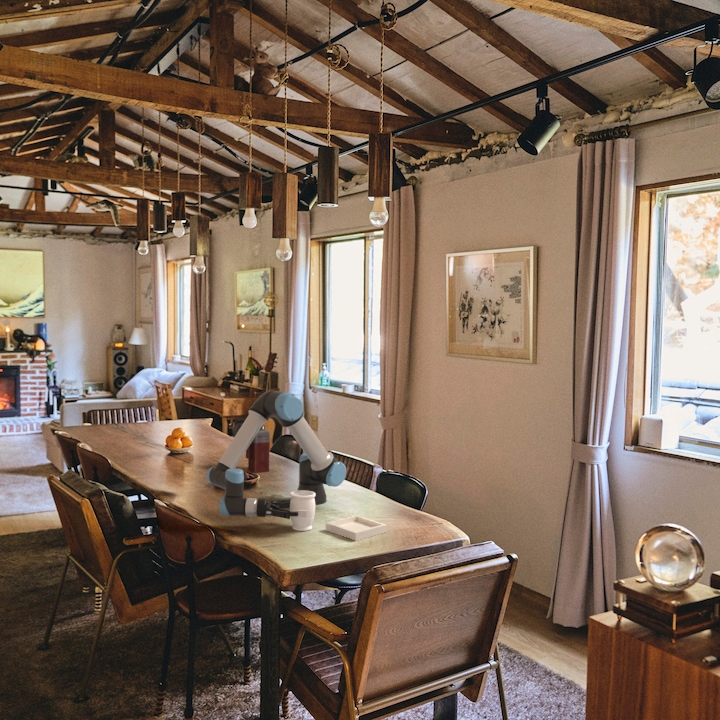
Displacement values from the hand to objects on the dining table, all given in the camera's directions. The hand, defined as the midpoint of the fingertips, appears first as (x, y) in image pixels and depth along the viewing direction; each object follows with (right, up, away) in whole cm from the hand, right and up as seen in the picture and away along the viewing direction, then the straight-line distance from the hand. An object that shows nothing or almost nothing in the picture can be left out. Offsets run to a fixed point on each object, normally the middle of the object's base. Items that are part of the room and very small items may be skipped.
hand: (308, 509), depth 293 cm
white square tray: (+20, -9, -1) cm, 22 cm away
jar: (-3, -8, +1) cm, 9 cm away
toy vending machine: (-37, -1, +104) cm, 110 cm away
